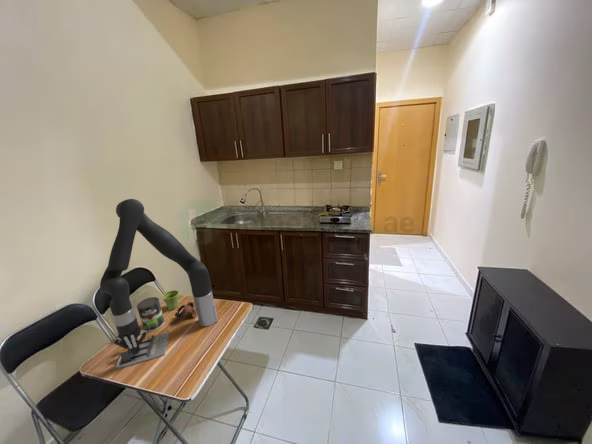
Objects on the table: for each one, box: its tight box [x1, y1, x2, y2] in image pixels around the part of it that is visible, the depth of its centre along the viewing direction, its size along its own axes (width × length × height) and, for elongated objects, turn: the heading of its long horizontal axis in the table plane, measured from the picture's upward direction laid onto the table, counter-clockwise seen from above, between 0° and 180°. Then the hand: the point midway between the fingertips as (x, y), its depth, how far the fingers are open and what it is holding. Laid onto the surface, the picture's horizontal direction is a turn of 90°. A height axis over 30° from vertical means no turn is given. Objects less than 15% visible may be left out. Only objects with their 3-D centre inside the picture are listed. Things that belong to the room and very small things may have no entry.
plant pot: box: [161, 289, 180, 311], centre depth 147 cm, size 9×9×9 cm
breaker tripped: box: [119, 347, 132, 362], centre depth 108 cm, size 3×2×5 cm
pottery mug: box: [174, 301, 197, 320], centre depth 138 cm, size 12×10×8 cm
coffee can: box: [136, 296, 166, 333], centre depth 131 cm, size 10×10×14 cm
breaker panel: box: [115, 332, 170, 370], centre depth 115 cm, size 19×14×2 cm
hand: (136, 352), depth 109 cm, fingers closed
